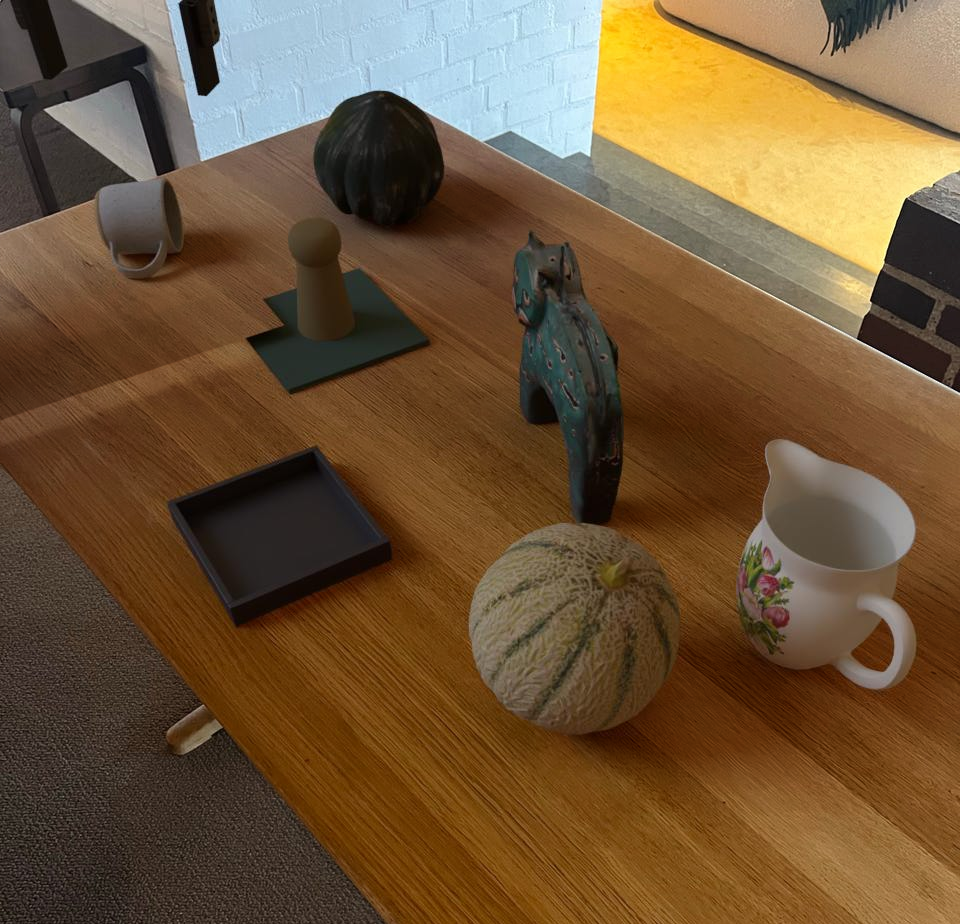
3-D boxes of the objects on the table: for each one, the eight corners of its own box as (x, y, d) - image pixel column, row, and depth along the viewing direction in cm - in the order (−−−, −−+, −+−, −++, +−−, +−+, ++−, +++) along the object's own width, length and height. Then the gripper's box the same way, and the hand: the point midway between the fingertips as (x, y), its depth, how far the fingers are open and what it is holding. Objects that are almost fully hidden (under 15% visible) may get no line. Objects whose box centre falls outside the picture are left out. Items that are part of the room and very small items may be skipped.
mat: (227, 315, 106) (225, 310, 106) (359, 272, 112) (359, 267, 111) (289, 394, 98) (288, 389, 97) (430, 344, 103) (429, 339, 103)
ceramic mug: (116, 233, 117) (96, 169, 111) (186, 229, 117) (170, 165, 111) (103, 284, 110) (81, 219, 104) (177, 280, 111) (159, 215, 105)
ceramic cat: (503, 397, 97) (507, 199, 82) (566, 387, 98) (582, 189, 83) (564, 537, 85) (582, 336, 70) (635, 523, 86) (668, 322, 71)
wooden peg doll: (313, 347, 102) (297, 247, 93) (287, 319, 105) (270, 219, 96) (365, 329, 104) (354, 229, 95) (339, 302, 107) (326, 203, 98)
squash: (350, 119, 123) (312, 53, 109) (465, 139, 121) (442, 74, 106) (326, 233, 124) (284, 184, 110) (440, 255, 122) (413, 207, 108)
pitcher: (810, 758, 71) (867, 639, 61) (679, 588, 82) (709, 460, 71) (931, 707, 74) (1007, 584, 63) (790, 548, 84) (835, 420, 74)
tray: (172, 520, 87) (166, 501, 85) (319, 464, 91) (316, 444, 90) (235, 627, 79) (230, 608, 77) (392, 559, 84) (390, 540, 82)
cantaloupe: (464, 620, 80) (460, 480, 68) (645, 609, 80) (672, 469, 68) (477, 780, 70) (476, 649, 59) (682, 766, 71) (721, 634, 59)
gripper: (242, -272, 65) (291, 76, 81) (-96, -288, 68) (17, 48, 85) (195, -248, 60) (257, 116, 77) (-165, -266, 64) (-31, 84, 80)
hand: (131, 81), depth 81 cm, fingers open, 13 cm apart
